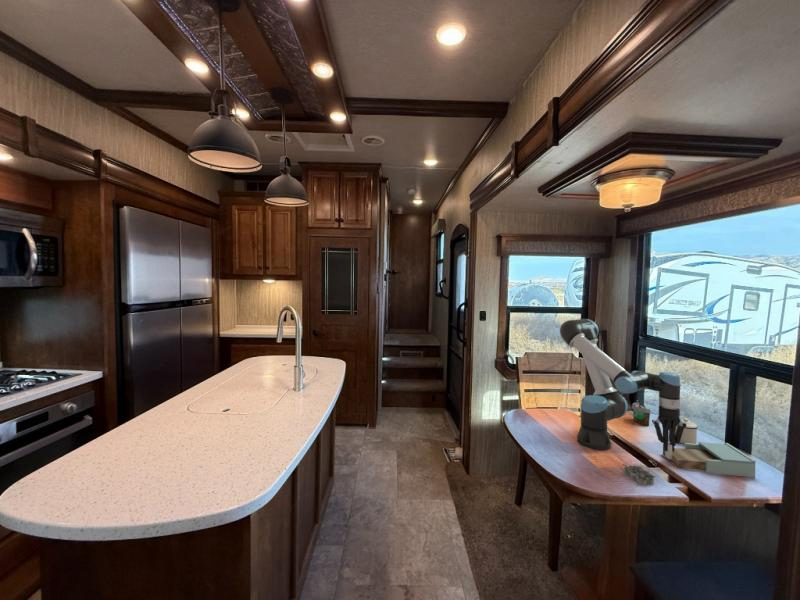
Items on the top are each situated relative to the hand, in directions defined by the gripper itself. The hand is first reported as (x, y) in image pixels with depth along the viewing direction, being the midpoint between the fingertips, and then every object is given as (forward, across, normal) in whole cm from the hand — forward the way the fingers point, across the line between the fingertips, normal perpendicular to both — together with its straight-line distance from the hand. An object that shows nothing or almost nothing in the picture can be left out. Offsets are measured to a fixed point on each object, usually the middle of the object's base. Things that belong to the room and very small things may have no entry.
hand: (668, 457), depth 155 cm
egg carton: (+2, -19, -18) cm, 26 cm away
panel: (+2, +10, 0) cm, 10 cm away
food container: (+2, +6, +45) cm, 46 cm away
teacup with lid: (+2, +18, +26) cm, 32 cm away
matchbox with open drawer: (+2, +19, +1) cm, 19 cm away
